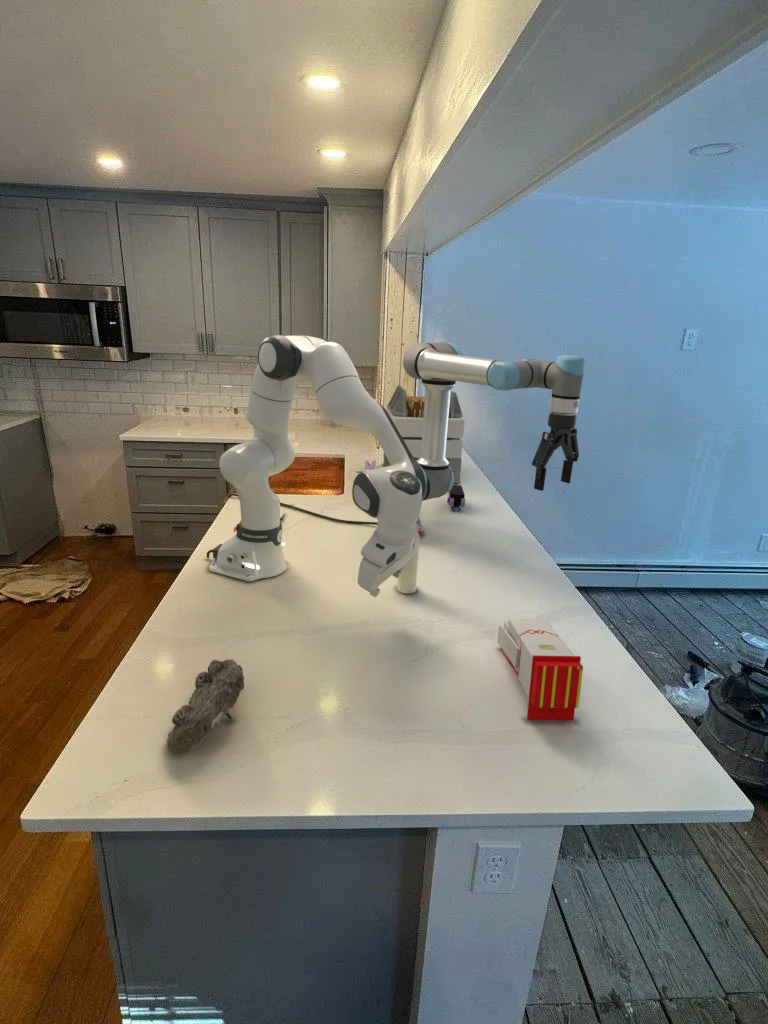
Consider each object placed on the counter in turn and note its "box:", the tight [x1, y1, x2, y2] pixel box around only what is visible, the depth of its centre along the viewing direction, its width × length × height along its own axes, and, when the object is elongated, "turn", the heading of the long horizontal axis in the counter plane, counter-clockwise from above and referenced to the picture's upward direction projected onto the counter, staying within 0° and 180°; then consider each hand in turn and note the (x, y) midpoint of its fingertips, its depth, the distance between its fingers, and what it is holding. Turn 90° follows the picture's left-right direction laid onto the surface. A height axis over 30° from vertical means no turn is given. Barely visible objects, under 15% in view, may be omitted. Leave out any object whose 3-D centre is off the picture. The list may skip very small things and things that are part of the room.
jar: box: [397, 537, 421, 594], centre depth 158 cm, size 5×5×18 cm
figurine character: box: [446, 484, 466, 511], centre depth 229 cm, size 7×8×15 cm
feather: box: [280, 513, 286, 523], centre depth 210 cm, size 2×28×2 cm
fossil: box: [166, 658, 245, 754], centre depth 106 cm, size 22×10×15 cm
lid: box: [417, 527, 423, 539], centre depth 155 cm, size 6×6×2 cm
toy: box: [497, 618, 584, 722], centre depth 122 cm, size 12×13×30 cm
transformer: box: [383, 384, 465, 484], centre depth 268 cm, size 34×33×41 cm
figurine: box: [364, 459, 377, 471], centre depth 237 cm, size 9×10×15 cm
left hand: (385, 584), depth 136 cm, fingers open, 8 cm apart
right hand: (552, 485), depth 166 cm, fingers open, 13 cm apart
